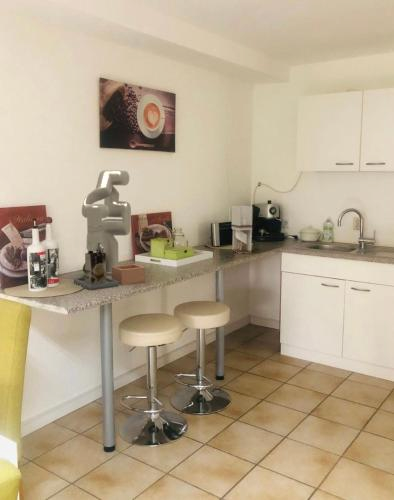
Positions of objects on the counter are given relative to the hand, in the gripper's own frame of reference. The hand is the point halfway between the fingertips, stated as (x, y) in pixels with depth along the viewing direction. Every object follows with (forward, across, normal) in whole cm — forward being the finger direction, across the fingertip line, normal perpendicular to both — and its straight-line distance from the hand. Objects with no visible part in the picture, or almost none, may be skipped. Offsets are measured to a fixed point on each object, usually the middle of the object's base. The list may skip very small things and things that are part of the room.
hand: (95, 261), depth 260 cm
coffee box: (+12, 0, 0) cm, 12 cm away
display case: (+12, -35, +137) cm, 142 cm away
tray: (+12, 0, 0) cm, 12 cm away
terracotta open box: (+12, +3, +18) cm, 22 cm away
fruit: (+13, -21, +8) cm, 26 cm away
